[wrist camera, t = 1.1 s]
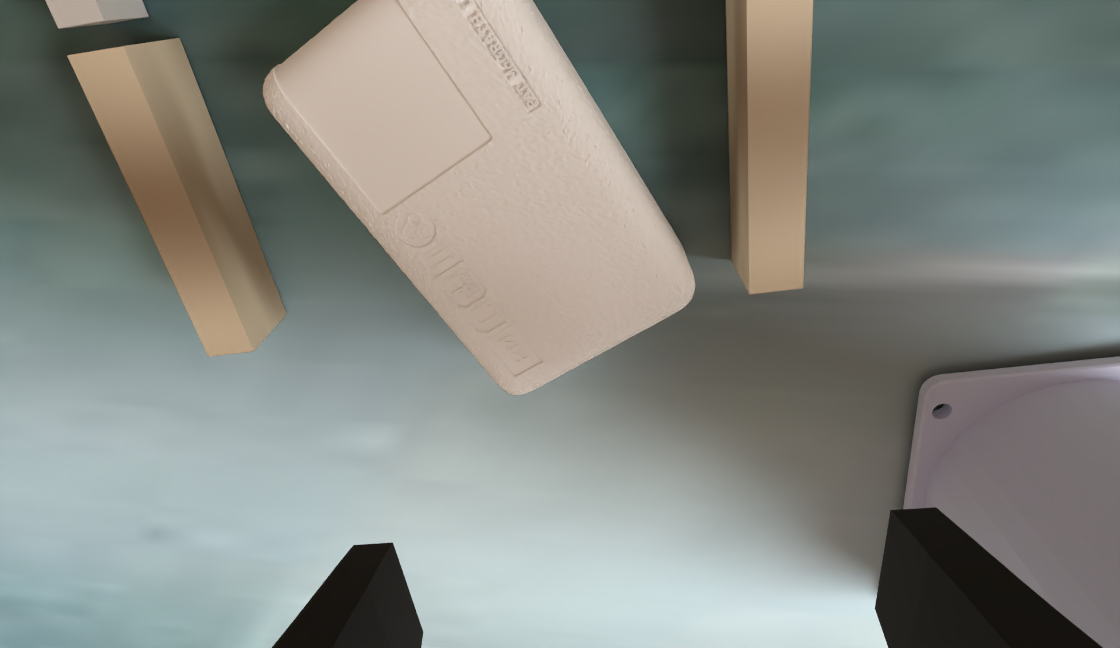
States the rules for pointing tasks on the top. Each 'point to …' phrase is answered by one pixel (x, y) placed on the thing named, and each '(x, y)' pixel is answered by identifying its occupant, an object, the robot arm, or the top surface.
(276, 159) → the top surface
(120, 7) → the white frame
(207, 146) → the slot
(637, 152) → the top surface
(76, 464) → the top surface
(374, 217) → the soap
